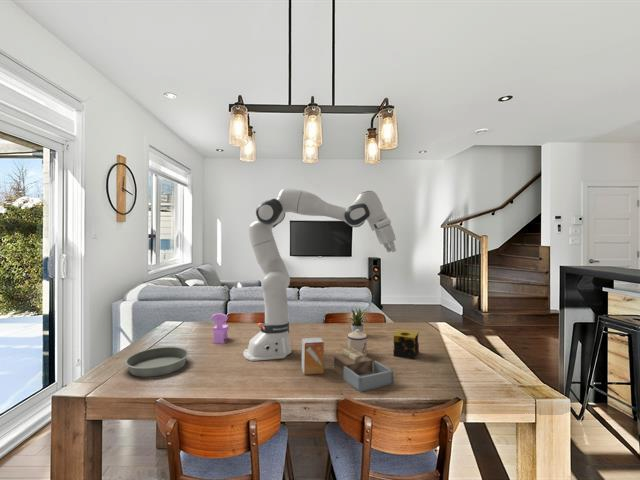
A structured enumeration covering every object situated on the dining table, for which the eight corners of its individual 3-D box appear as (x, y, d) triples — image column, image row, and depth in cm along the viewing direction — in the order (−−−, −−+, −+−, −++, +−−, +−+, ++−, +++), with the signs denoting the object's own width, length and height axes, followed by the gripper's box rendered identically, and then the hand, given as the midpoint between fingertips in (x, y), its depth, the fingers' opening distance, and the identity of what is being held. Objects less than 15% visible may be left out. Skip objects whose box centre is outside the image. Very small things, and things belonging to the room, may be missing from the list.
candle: (419, 352, 163) (419, 332, 163) (415, 360, 154) (415, 337, 153) (397, 349, 167) (397, 329, 167) (392, 356, 158) (393, 335, 158)
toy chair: (230, 338, 184) (230, 310, 184) (226, 343, 175) (226, 314, 175) (214, 338, 184) (214, 310, 184) (210, 343, 175) (210, 314, 175)
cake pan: (128, 360, 151) (128, 350, 151) (187, 353, 161) (187, 343, 161) (120, 383, 129) (120, 371, 129) (190, 373, 139) (190, 362, 138)
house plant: (376, 334, 191) (376, 305, 191) (366, 341, 179) (366, 310, 179) (353, 330, 199) (354, 302, 198) (342, 336, 187) (342, 307, 187)
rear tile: (348, 358, 139) (348, 352, 139) (342, 355, 143) (342, 349, 143) (357, 357, 141) (357, 351, 141) (352, 353, 145) (352, 347, 145)
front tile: (354, 363, 135) (354, 356, 135) (348, 359, 139) (349, 353, 139) (364, 361, 137) (364, 355, 137) (358, 357, 141) (358, 351, 141)
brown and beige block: (346, 378, 133) (346, 364, 133) (334, 369, 142) (334, 356, 142) (372, 373, 138) (372, 360, 138) (358, 364, 148) (358, 351, 147)
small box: (304, 375, 136) (304, 342, 136) (301, 369, 142) (301, 338, 142) (323, 373, 138) (324, 341, 138) (320, 367, 144) (320, 336, 144)
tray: (359, 392, 122) (359, 378, 122) (343, 379, 132) (343, 366, 132) (393, 384, 128) (393, 371, 128) (375, 372, 139) (375, 360, 139)
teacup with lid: (366, 358, 155) (366, 333, 155) (346, 357, 156) (346, 331, 156) (367, 349, 167) (367, 326, 166) (348, 348, 168) (349, 325, 168)
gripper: (369, 228, 166) (381, 254, 166) (377, 224, 146) (390, 254, 145) (381, 223, 166) (393, 249, 166) (390, 218, 146) (403, 248, 145)
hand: (391, 251), depth 155 cm, fingers open, 8 cm apart
